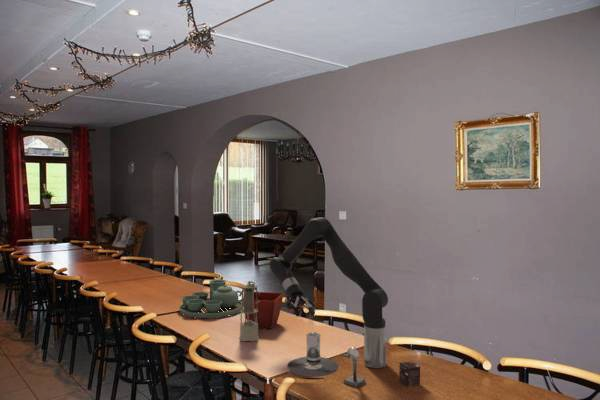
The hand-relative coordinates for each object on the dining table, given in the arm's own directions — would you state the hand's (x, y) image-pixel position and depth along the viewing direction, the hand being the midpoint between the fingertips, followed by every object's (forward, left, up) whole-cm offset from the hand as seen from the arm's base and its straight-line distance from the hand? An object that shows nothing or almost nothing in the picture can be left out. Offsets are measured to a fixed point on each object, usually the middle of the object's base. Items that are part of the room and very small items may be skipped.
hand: (306, 315), depth 209 cm
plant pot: (+27, -49, -20) cm, 59 cm away
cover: (-3, +6, -18) cm, 19 cm away
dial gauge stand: (-19, +25, -20) cm, 37 cm away
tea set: (+64, -79, -20) cm, 103 cm away
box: (-42, +24, -20) cm, 53 cm away
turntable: (-3, +13, -20) cm, 24 cm away
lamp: (+30, -24, -20) cm, 43 cm away
